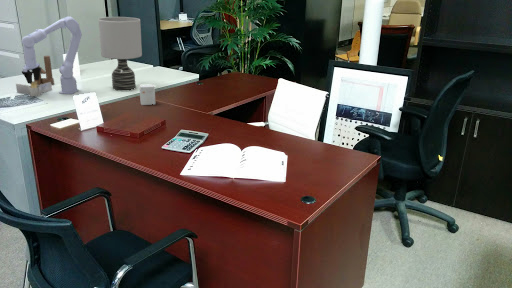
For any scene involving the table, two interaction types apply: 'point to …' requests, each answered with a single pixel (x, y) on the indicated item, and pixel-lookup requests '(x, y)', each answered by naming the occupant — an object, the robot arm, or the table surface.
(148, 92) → the small box
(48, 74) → the brown wooden frame
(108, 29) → the lamp
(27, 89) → the steel hinge
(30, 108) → the table surface
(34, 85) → the hinge pin
